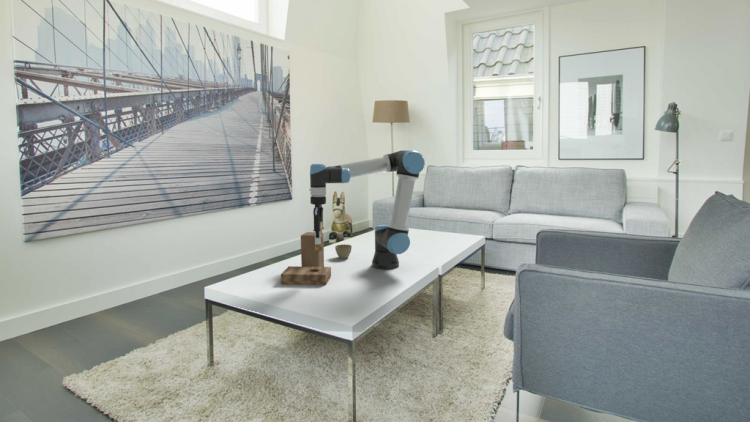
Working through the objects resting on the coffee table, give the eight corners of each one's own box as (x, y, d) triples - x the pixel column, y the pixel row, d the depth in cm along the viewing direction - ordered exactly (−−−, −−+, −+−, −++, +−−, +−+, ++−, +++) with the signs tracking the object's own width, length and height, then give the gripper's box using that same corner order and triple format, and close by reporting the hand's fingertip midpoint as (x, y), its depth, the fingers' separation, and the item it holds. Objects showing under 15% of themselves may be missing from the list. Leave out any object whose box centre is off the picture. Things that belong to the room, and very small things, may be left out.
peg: (323, 249, 214) (322, 221, 212) (321, 251, 211) (321, 223, 209) (315, 249, 215) (315, 221, 213) (314, 251, 211) (314, 222, 209)
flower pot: (335, 256, 264) (335, 244, 263) (351, 255, 265) (351, 244, 264) (335, 260, 254) (335, 248, 253) (352, 259, 255) (352, 247, 254)
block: (318, 272, 229) (317, 235, 226) (301, 271, 231) (299, 235, 228) (324, 267, 239) (323, 232, 236) (307, 266, 241) (306, 231, 238)
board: (331, 276, 222) (330, 266, 221) (326, 284, 208) (325, 274, 208) (289, 275, 224) (288, 266, 223) (281, 284, 210) (280, 274, 209)
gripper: (313, 194, 217) (314, 239, 221) (306, 197, 201) (307, 246, 204) (328, 194, 217) (329, 239, 220) (322, 197, 200) (323, 247, 204)
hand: (318, 243), depth 212 cm, fingers closed on peg, 4 cm apart
